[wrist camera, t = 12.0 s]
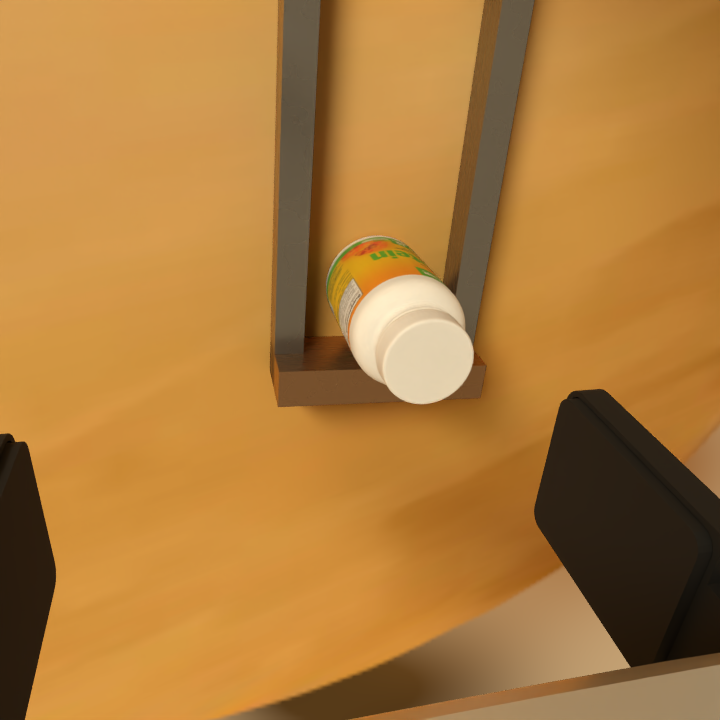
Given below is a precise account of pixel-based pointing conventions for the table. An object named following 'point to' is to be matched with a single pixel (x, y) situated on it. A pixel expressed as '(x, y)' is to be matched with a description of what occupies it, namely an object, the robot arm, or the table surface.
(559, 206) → the table surface
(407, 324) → the supplement bottle
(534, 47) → the table surface
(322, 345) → the u-shaped frame
